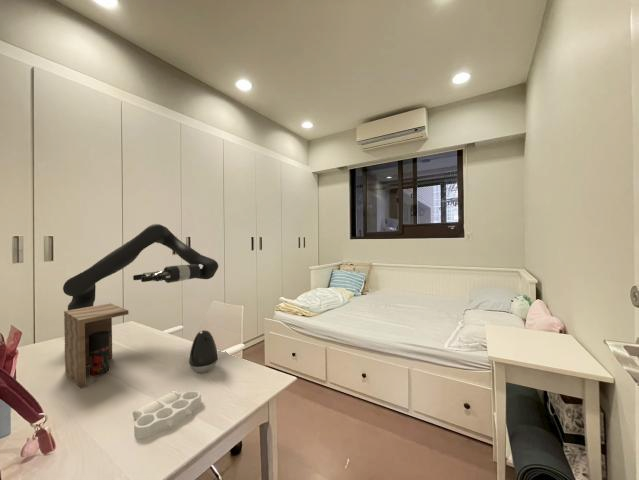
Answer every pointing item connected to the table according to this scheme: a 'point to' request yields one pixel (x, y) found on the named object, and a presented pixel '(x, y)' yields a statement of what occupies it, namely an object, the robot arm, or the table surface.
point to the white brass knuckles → (164, 412)
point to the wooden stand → (86, 336)
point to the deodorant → (99, 353)
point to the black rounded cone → (203, 352)
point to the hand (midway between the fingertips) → (137, 278)
